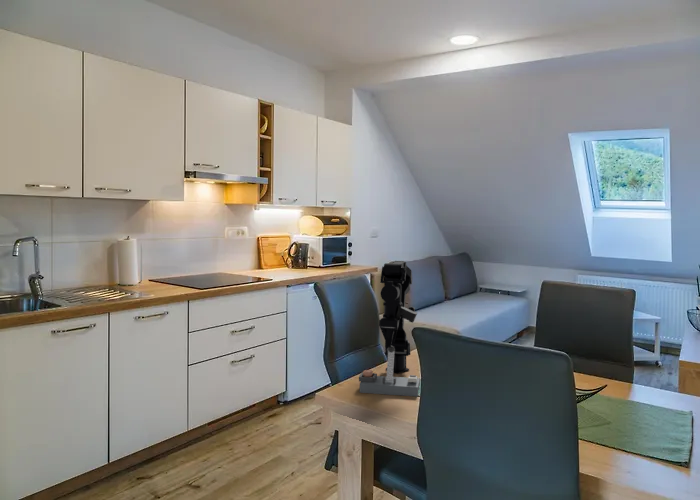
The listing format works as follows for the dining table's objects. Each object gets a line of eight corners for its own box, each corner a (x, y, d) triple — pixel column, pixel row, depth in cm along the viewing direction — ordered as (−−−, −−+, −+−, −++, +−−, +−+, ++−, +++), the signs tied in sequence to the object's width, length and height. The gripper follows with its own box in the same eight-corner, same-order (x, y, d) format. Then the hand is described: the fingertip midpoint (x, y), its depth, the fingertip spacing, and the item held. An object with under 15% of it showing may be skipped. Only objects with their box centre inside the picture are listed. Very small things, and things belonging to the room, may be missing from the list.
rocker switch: (409, 379, 172) (409, 374, 172) (417, 379, 171) (417, 375, 171) (407, 381, 167) (407, 377, 168) (416, 382, 167) (416, 377, 167)
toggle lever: (386, 381, 171) (388, 346, 175) (393, 381, 170) (395, 347, 175) (385, 379, 168) (387, 344, 173) (392, 380, 168) (394, 345, 173)
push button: (364, 374, 174) (364, 369, 174) (373, 374, 174) (373, 370, 173) (362, 377, 171) (362, 372, 171) (371, 377, 170) (371, 373, 170)
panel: (362, 383, 178) (362, 369, 177) (419, 387, 173) (419, 373, 173) (357, 392, 169) (357, 378, 168) (417, 396, 165) (417, 381, 164)
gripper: (413, 303, 167) (411, 351, 167) (418, 298, 185) (416, 341, 185) (379, 301, 169) (377, 348, 169) (388, 296, 187) (386, 338, 187)
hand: (391, 344), depth 178 cm, fingers open, 9 cm apart
